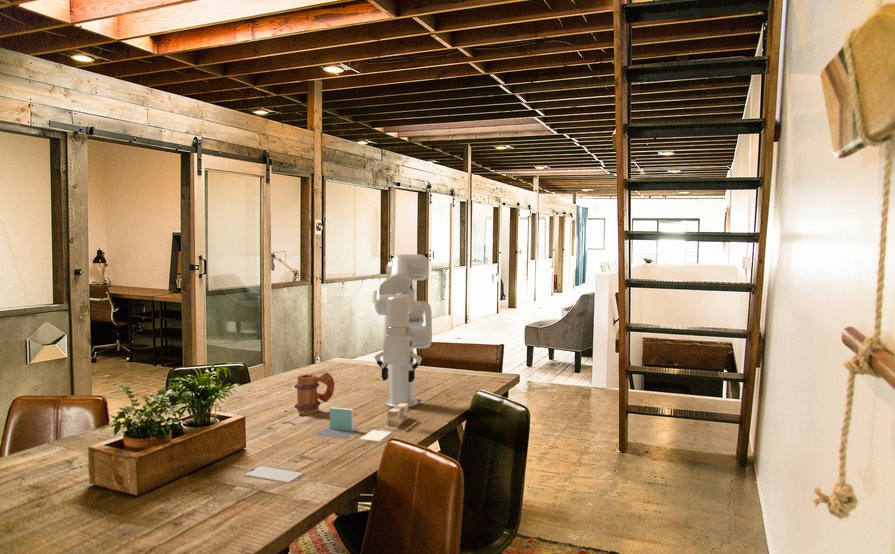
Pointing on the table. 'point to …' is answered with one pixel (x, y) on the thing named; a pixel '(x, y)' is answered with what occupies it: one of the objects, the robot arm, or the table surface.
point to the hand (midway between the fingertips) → (398, 380)
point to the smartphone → (274, 474)
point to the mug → (312, 392)
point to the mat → (336, 432)
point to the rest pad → (375, 435)
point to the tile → (341, 419)
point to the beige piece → (397, 417)
